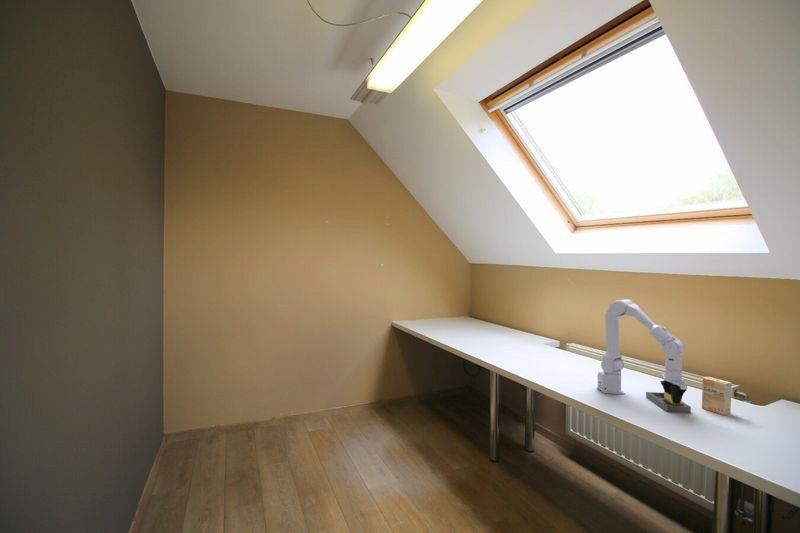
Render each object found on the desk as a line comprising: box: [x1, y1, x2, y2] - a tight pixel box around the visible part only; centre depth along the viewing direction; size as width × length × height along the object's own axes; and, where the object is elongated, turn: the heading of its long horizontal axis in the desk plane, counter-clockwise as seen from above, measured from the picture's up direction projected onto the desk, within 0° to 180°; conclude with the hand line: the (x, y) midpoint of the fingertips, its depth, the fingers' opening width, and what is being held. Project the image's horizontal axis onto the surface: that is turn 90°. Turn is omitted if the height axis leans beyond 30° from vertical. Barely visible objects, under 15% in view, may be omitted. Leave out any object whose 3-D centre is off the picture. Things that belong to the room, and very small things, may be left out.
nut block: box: [663, 390, 683, 405], centre depth 158 cm, size 4×4×5 cm
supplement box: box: [701, 376, 733, 416], centre depth 155 cm, size 8×5×13 cm, turn 23°
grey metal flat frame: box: [645, 391, 692, 414], centre depth 162 cm, size 9×16×2 cm, turn 174°
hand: (672, 400), depth 158 cm, fingers closed on nut block, 4 cm apart
